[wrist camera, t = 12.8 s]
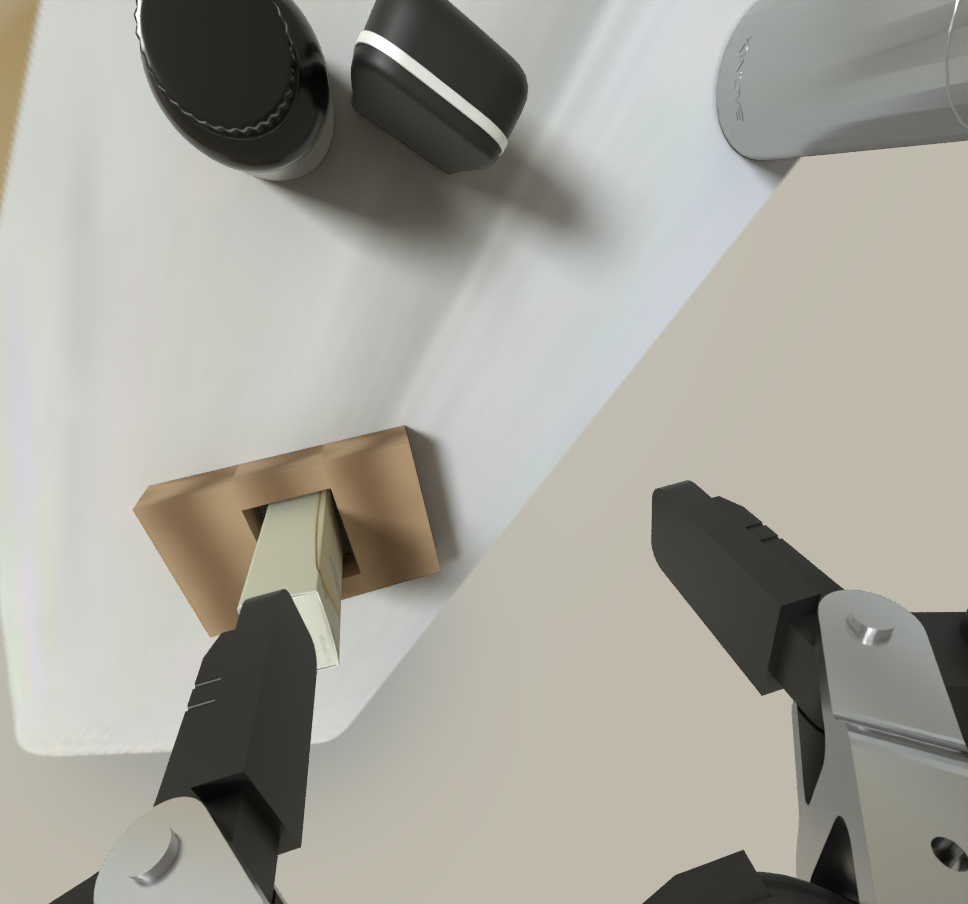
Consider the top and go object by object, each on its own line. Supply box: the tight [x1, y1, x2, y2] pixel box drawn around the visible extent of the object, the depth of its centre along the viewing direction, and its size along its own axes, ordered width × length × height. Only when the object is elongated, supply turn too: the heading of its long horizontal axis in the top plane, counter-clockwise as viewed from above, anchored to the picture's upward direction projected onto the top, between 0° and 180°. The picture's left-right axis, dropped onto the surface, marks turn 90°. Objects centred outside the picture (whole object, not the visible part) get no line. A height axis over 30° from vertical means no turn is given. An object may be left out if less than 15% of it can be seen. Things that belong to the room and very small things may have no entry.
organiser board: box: [133, 426, 441, 637], centre depth 37 cm, size 18×12×3 cm, turn 99°
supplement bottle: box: [134, 0, 334, 181], centre depth 21 cm, size 7×7×12 cm
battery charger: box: [351, 0, 528, 174], centre depth 23 cm, size 7×4×11 cm, turn 59°
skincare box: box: [237, 489, 343, 672], centre depth 33 cm, size 6×4×12 cm
